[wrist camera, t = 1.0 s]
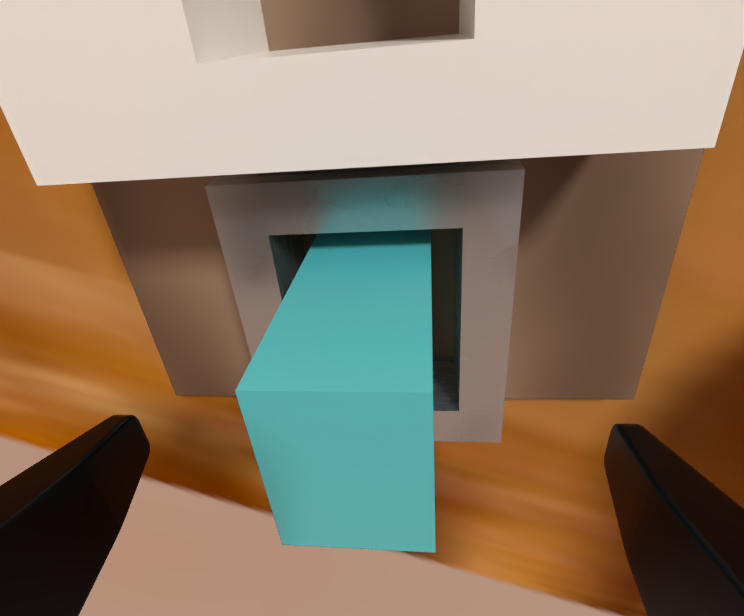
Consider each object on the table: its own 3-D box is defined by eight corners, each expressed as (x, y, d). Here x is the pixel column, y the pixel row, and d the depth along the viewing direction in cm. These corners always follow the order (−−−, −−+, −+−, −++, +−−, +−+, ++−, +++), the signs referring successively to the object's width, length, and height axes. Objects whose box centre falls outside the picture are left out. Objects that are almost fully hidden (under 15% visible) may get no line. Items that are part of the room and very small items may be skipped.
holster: (506, 142, 11) (525, 169, 9) (490, 384, 15) (500, 442, 13) (243, 158, 12) (205, 186, 10) (293, 383, 16) (273, 437, 14)
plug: (430, 219, 13) (432, 392, 7) (432, 338, 15) (435, 552, 9) (322, 223, 13) (235, 390, 7) (339, 339, 15) (282, 544, 9)
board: (888, -651, 6) (958, -754, 6) (622, 379, 16) (633, 399, 15) (-102, -401, 8) (-160, -449, 8) (188, 378, 18) (176, 395, 17)
